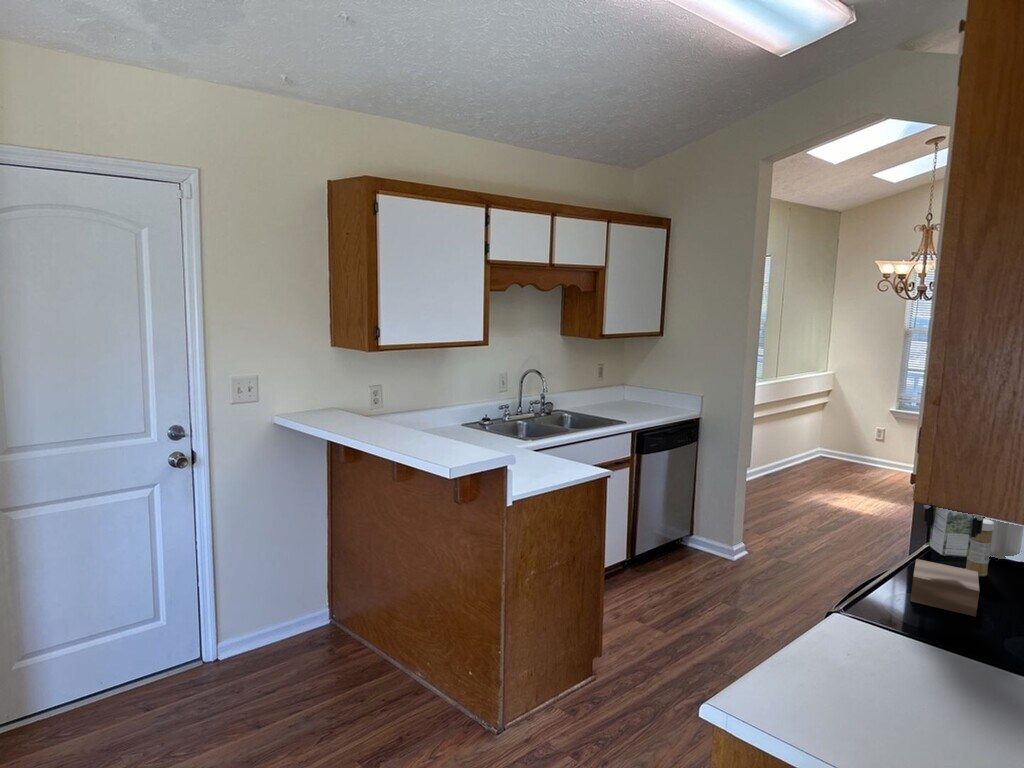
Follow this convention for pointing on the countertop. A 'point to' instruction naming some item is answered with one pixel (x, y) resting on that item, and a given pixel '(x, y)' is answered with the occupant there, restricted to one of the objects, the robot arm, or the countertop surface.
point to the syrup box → (951, 532)
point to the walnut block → (945, 587)
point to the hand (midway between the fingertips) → (951, 530)
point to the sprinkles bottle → (981, 549)
